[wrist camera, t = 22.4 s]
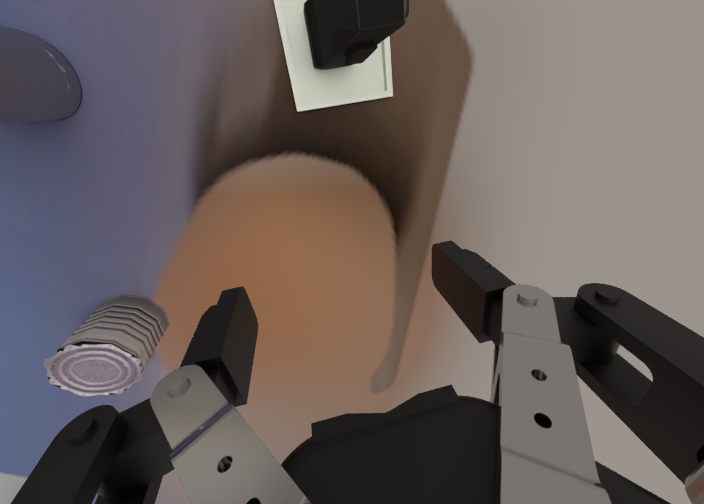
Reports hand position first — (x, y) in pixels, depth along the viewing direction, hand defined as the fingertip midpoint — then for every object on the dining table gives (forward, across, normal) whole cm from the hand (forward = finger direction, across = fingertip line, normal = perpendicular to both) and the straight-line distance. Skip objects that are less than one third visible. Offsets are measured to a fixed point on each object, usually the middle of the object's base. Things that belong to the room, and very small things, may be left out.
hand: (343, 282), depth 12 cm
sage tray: (+36, -7, -13) cm, 39 cm away
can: (+36, +37, +23) cm, 57 cm away
